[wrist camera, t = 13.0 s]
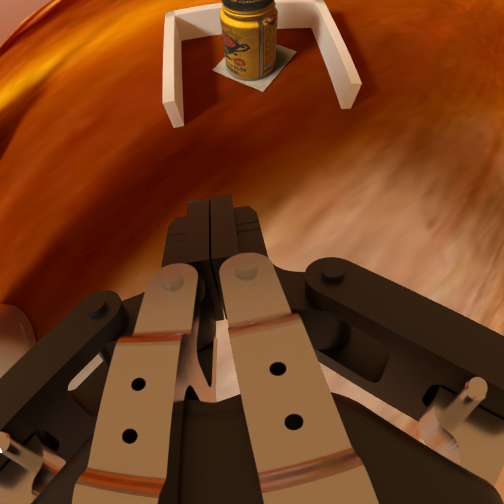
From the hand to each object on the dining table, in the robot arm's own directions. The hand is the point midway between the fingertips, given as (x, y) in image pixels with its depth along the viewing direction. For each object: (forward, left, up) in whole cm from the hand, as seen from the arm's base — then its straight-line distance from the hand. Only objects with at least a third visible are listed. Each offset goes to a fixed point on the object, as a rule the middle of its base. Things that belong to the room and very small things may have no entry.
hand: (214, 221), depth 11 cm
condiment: (+5, +26, -20) cm, 33 cm away
